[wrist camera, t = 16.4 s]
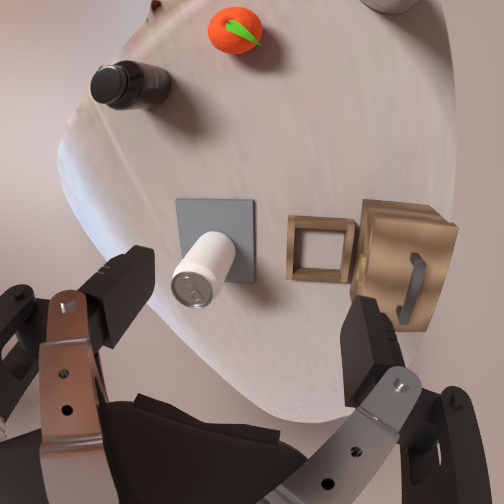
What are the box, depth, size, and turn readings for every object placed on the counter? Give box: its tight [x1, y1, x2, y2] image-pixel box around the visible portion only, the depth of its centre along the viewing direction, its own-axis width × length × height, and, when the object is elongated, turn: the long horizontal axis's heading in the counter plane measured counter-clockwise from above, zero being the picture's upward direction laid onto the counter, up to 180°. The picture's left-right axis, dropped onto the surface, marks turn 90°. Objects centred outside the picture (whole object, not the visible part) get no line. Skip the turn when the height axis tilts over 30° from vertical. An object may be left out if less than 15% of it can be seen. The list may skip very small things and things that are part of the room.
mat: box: [175, 199, 255, 284], centre depth 47 cm, size 14×12×1 cm
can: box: [171, 231, 235, 309], centre depth 42 cm, size 6×6×12 cm
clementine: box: [208, 7, 262, 54], centre depth 29 cm, size 8×7×7 cm
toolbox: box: [286, 199, 459, 332], centre depth 38 cm, size 17×22×13 cm
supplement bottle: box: [90, 60, 171, 110], centre depth 32 cm, size 7×7×12 cm
